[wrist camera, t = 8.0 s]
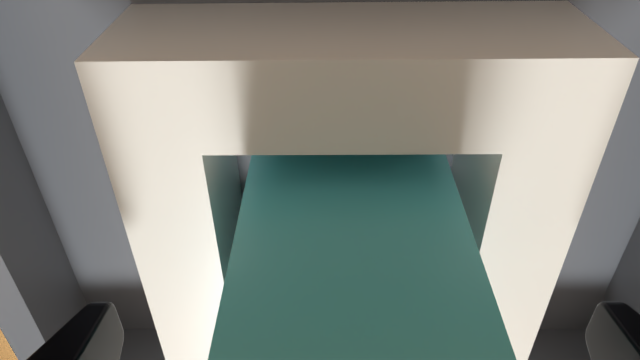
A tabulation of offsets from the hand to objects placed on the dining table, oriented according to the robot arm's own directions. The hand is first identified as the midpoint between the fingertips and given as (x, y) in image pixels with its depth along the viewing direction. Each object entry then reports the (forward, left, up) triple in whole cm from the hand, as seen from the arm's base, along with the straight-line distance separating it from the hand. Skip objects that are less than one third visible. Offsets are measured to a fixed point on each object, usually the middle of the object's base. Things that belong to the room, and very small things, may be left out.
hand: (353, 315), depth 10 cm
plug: (0, 0, -4) cm, 4 cm away
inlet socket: (0, 0, -5) cm, 5 cm away
